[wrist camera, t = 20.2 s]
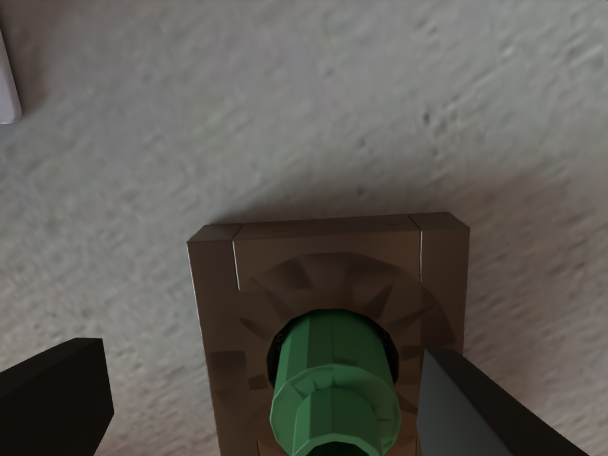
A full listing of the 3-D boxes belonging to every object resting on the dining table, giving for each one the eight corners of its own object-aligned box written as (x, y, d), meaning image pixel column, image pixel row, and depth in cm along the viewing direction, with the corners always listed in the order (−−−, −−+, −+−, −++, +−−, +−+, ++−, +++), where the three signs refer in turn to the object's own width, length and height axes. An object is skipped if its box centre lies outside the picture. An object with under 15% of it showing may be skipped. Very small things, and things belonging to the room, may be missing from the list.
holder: (235, 435, 21) (224, 477, 18) (204, 224, 17) (185, 242, 15) (440, 431, 20) (456, 474, 18) (448, 211, 17) (470, 227, 14)
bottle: (279, 367, 19) (254, 515, 12) (291, 285, 18) (271, 397, 11) (368, 380, 19) (396, 537, 12) (386, 300, 18) (430, 422, 11)
